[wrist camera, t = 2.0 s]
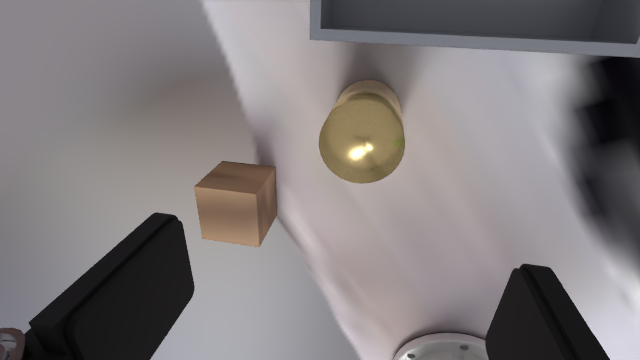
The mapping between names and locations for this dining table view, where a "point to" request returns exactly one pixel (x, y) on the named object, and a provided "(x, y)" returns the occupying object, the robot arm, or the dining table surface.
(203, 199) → the cube
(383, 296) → the dining table surface
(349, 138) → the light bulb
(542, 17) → the box
